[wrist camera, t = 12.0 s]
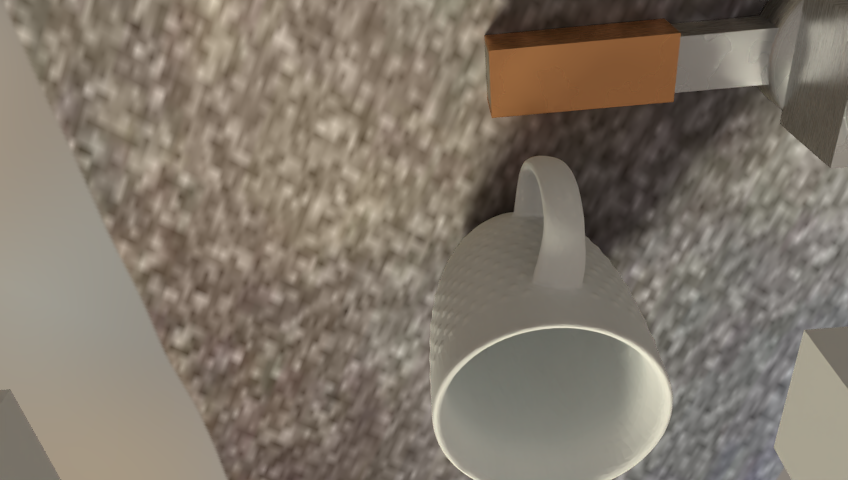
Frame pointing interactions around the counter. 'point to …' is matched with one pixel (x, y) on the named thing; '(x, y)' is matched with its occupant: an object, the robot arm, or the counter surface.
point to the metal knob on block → (820, 82)
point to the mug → (542, 347)
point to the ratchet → (639, 61)
